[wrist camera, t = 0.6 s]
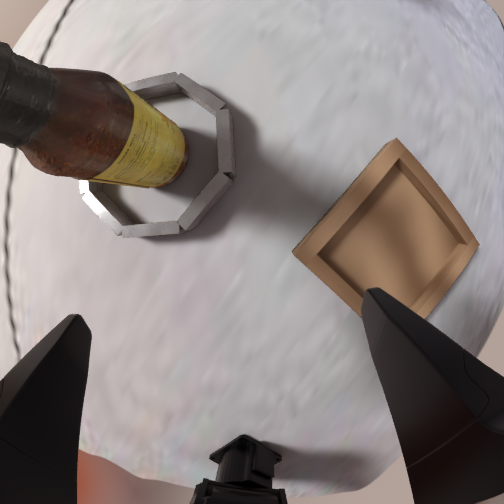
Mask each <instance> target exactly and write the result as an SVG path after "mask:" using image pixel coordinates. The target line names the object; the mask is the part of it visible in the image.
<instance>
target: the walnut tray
mask: <svg viewBox="0 0 504 504" xmlns="http://www.w3.org/2000/svg"><path fill="white" fill-rule="evenodd" d="M478 246H479V243H478V241H477V240H476V238H475V236H474V235H473V233H472V232H471V230H470V229H469V227H468V226H467V224H466V223H465V221H464V220H463V218H462V217H461V215H460V214H459V213H458V211H457V210H456V208H455V207H454V206H453V204H452V203H451V201H450V200H449V199H448V197H447V196H446V195H445V193H444V192H443V191H442V190H441V188H440V187H439V186H438V184H437V183H436V182H435V181H434V179H433V178H432V177H431V176H430V175H429V173H428V172H427V171H426V170H425V169H424V167H423V166H422V165H421V164H420V163H419V162H418V161H417V159H416V158H415V157H414V156H413V155H412V154H411V153H410V152H409V150H408V149H407V148H406V147H405V146H404V145H403V144H402V143H401V142H400V141H399V140H398V139H397V138H395V139H394V140H392V141H390V142H388V143H387V144H385V145H384V146H383V148H382V149H381V150H380V151H379V152H378V154H377V155H376V156H375V157H374V158H373V159H372V161H371V162H370V163H369V164H368V165H367V166H366V168H365V169H364V170H363V171H362V172H361V173H360V175H359V176H358V177H357V178H356V179H355V180H354V182H353V183H352V184H351V185H350V186H349V187H348V189H347V190H346V191H345V192H344V193H343V194H342V195H341V197H340V198H339V199H338V200H337V201H336V202H335V203H334V205H333V206H332V207H331V208H330V209H329V210H328V211H327V212H326V214H325V215H324V216H323V217H322V218H321V219H320V220H319V222H318V223H317V224H316V225H315V226H314V227H313V228H312V229H311V230H310V232H309V233H308V234H307V235H306V236H305V237H304V238H303V239H302V240H301V242H300V243H299V244H298V245H297V246H296V247H295V248H294V249H293V250H292V252H293V254H294V256H295V257H296V258H298V259H299V260H300V261H301V262H302V263H303V264H304V265H305V266H306V267H307V268H309V269H310V270H311V271H312V272H313V273H314V274H315V275H316V276H317V277H318V278H319V279H320V280H322V281H323V282H324V283H325V284H326V285H327V286H328V287H329V288H330V289H331V290H332V291H333V292H335V293H336V294H337V295H338V296H339V297H340V298H341V299H342V300H343V301H344V302H345V303H346V304H347V305H348V306H349V307H351V308H352V309H353V310H354V311H355V312H356V313H357V314H358V315H359V316H360V317H361V318H362V316H361V306H362V302H363V298H364V293H365V291H366V289H368V288H374V287H379V288H381V289H383V290H384V291H386V292H387V293H388V294H390V295H391V296H393V297H394V298H396V299H397V300H398V301H400V302H401V303H403V304H404V305H405V306H407V307H408V308H410V309H411V310H412V311H414V312H415V313H417V314H418V315H419V316H421V317H422V318H424V319H425V318H426V317H427V316H428V315H429V313H430V312H431V311H432V310H433V309H434V307H435V306H436V305H437V304H438V302H439V301H440V300H441V299H442V297H443V296H444V295H445V293H446V292H447V291H448V290H449V288H450V287H451V286H452V284H453V283H454V281H455V280H456V279H457V277H458V276H459V275H460V273H461V272H462V270H463V269H464V267H465V266H466V265H467V263H468V262H469V260H470V259H471V257H472V256H473V254H474V253H475V251H476V249H477V248H478Z"/></svg>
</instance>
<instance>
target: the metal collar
mask: <svg viewBox="0 0 504 504" xmlns="http://www.w3.org/2000/svg"><path fill="white" fill-rule="evenodd" d="M125 86H126V87H127V88H129V89H130V90H131V91H133V92H134V93H136V94H137V95H138V96H140V97H141V98H142V99H144V100H147V99H151V98H156V97H161V96H165V95H170V94H175V93H181V92H183V93H184V94H185V95H187V96H188V97H190V98H191V99H192V100H194V101H195V102H196V103H198V104H199V105H201V106H202V107H203V108H205V109H206V110H207V111H209V112H210V113H211V114H213V115H214V116H215V117H216V126H217V149H218V169H219V172H218V173H217V174H216V175H215V176H214V177H213V178H212V180H211V181H210V182H209V183H208V184H207V185H206V187H205V188H204V189H203V190H202V191H201V193H200V194H199V195H198V196H197V197H196V198H195V200H194V201H193V202H192V203H191V205H190V206H189V207H188V208H187V209H186V211H185V212H184V213H183V214H182V216H181V217H180V218H179V219H178V221H168V222H157V223H147V224H137V225H135V224H134V223H133V222H132V221H131V220H130V219H129V218H128V217H127V216H126V215H125V214H124V213H123V212H122V211H121V210H120V209H119V208H118V207H117V206H116V205H115V204H114V203H113V202H112V201H111V200H110V199H109V198H108V197H107V196H106V195H105V193H104V192H103V183H101V182H92V181H83V180H80V193H81V194H85V195H84V197H83V198H82V199H83V200H84V201H85V202H86V203H87V204H88V206H89V207H90V208H91V209H92V210H93V211H94V212H95V213H96V214H97V215H98V216H99V217H100V219H101V220H102V221H103V222H104V223H105V224H106V225H107V226H108V227H109V228H110V229H111V230H112V231H113V232H114V233H115V234H116V235H117V236H121V235H122V237H123V238H130V237H142V236H154V235H167V234H180V233H184V232H188V230H189V229H194V228H195V227H196V225H197V224H198V223H199V222H200V220H201V219H202V218H203V217H204V216H205V215H206V213H207V212H208V211H209V210H210V209H211V207H212V206H213V205H214V204H215V203H216V202H217V200H218V199H219V198H220V197H221V196H222V195H223V193H224V192H225V191H226V190H227V189H228V188H229V187H230V185H231V184H232V183H233V181H232V180H231V179H229V178H228V176H236V173H235V156H234V138H233V120H232V116H231V114H230V111H229V109H228V108H227V106H226V103H224V102H223V101H222V100H220V99H219V98H217V97H216V96H215V95H213V94H212V93H210V92H209V91H208V90H206V89H205V88H203V87H202V86H200V85H199V84H197V83H196V82H194V81H193V80H191V79H190V78H188V77H187V76H185V75H184V74H182V73H180V74H179V75H177V73H176V72H173V73H168V74H163V75H159V76H155V77H150V78H146V79H143V80H139V81H135V82H131V83H128V84H125Z"/></svg>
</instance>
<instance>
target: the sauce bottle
mask: <svg viewBox="0 0 504 504" xmlns="http://www.w3.org/2000/svg"><path fill="white" fill-rule="evenodd" d="M0 143H2V144H5V145H6V146H9V147H10V148H16V147H18V148H19V149H20V150H21V151H22V152H23V153H24V154H25V156H26V158H27V159H28V160H29V162H30V163H31V164H32V165H33V166H34V167H35V168H37V169H39V170H40V171H42V172H44V173H46V174H50V175H55V176H65V177H72V178H74V179H77V180H83V181H92V182H101V183H110V184H118V185H126V186H134V187H142V188H150V187H155V188H159V187H162V186H165V185H167V184H169V183H171V182H172V181H173V180H174V179H176V178H177V177H178V176H179V175H180V174H181V173H182V171H183V170H184V168H185V165H186V163H187V159H188V155H189V154H188V151H189V147H188V142H187V140H186V138H185V136H184V135H183V134H182V132H181V130H180V129H179V127H178V126H177V125H176V124H175V123H174V122H173V121H172V120H170V119H169V118H167V117H166V116H165V115H164V114H162V113H161V112H160V111H158V110H157V109H156V108H154V107H153V106H152V105H151V104H149V103H148V102H146V101H145V100H144V99H142V98H141V97H140V96H138V95H137V94H136V93H134V92H133V91H131V90H130V89H129V88H127V87H126V86H125V85H123V84H122V83H120V82H119V81H117V80H116V79H114V78H113V77H111V76H110V75H108V74H106V73H103V72H99V71H90V70H79V69H66V68H48V67H47V66H44V65H39V64H36V63H34V62H33V61H31V60H28V59H27V58H25V57H23V56H20V55H16V53H14V52H13V51H12V49H11V48H10V46H9V45H8V44H7V43H3V42H0Z"/></svg>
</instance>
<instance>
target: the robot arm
mask: <svg viewBox="0 0 504 504" xmlns="http://www.w3.org/2000/svg"><path fill="white" fill-rule="evenodd" d="M361 316H362V320H363V323H364V327H365V331H366V335H367V339H368V343H369V347H370V351H371V355H372V359H373V362H374V365H375V367H376V370H377V373H378V376H379V379H380V382H381V385H382V387H383V390H384V393H385V396H386V400H387V403H388V406H389V409H390V412H391V415H392V418H393V422H394V425H395V428H396V432H397V435H398V439H399V442H400V446H401V449H402V453H403V457H404V460H405V464H406V468H407V473H408V477H409V481H410V485H411V489H412V494H413V499H414V503H415V504H504V377H503V376H501V375H500V374H498V373H497V372H495V371H494V370H493V369H491V368H490V367H488V366H486V365H485V364H484V363H482V362H481V361H480V360H478V359H477V358H476V357H474V356H473V355H472V354H470V353H469V352H468V351H467V350H465V349H463V348H462V347H461V346H460V345H459V344H457V343H456V342H455V341H453V340H452V339H451V338H449V337H448V336H447V335H445V334H444V333H443V332H441V331H440V330H439V329H437V328H436V327H434V326H433V325H432V324H430V323H429V322H428V321H426V320H425V319H424V318H422V317H421V316H419V315H418V314H417V313H415V312H414V311H412V310H411V309H410V308H408V307H407V306H405V305H404V304H403V303H401V302H400V301H398V300H397V299H396V298H394V297H393V296H391V295H390V294H388V293H387V292H386V291H384V290H383V289H381V288H379V287H374V288H368V289H366V291H365V293H364V298H363V302H362V306H361ZM91 340H92V334H91V331H90V329H89V327H88V326H87V324H86V322H85V321H84V319H83V318H82V316H81V315H79V314H70V315H68V316H67V317H66V318H65V319H64V320H62V321H61V322H60V323H59V324H58V325H57V326H56V327H55V328H54V329H53V330H51V331H50V332H49V333H48V334H47V335H46V336H45V337H44V338H43V339H42V340H41V341H40V342H39V343H38V344H37V345H36V346H35V347H33V348H32V349H31V350H30V351H29V352H28V353H27V354H26V355H25V356H24V357H23V358H22V359H21V360H20V361H19V362H18V363H17V364H16V365H15V366H14V367H13V368H12V369H11V370H10V371H9V372H8V373H7V374H6V375H5V377H4V378H3V379H2V380H1V381H0V504H77V462H78V447H79V436H80V426H81V417H82V410H83V403H84V396H85V390H86V384H87V377H88V368H89V357H90V348H91ZM277 458H278V459H277ZM209 459H210V460H212V461H214V462H216V463H217V464H219V467H218V471H217V476H216V481H212V480H209V479H206V478H204V479H203V482H202V483H200V484H198V485H196V488H195V491H194V495H193V497H192V499H191V502H190V504H287V499H286V494H285V489H272V478H273V477H274V465H275V464H277V463H278V462H280V461H282V456H281V455H279V454H277V453H275V452H273V451H271V450H270V449H268V448H266V447H264V446H262V445H261V444H259V443H257V442H255V441H254V440H252V439H250V438H248V437H247V436H245V435H240V436H239V437H237V438H236V439H234V440H233V441H231V442H230V443H228V444H226V445H225V446H223V447H222V448H220V449H219V450H217V451H215V452H214V453H212V454H211V455H210V457H209Z"/></svg>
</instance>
